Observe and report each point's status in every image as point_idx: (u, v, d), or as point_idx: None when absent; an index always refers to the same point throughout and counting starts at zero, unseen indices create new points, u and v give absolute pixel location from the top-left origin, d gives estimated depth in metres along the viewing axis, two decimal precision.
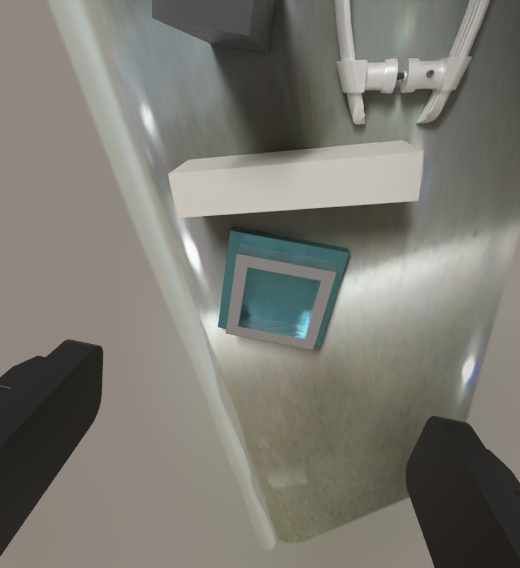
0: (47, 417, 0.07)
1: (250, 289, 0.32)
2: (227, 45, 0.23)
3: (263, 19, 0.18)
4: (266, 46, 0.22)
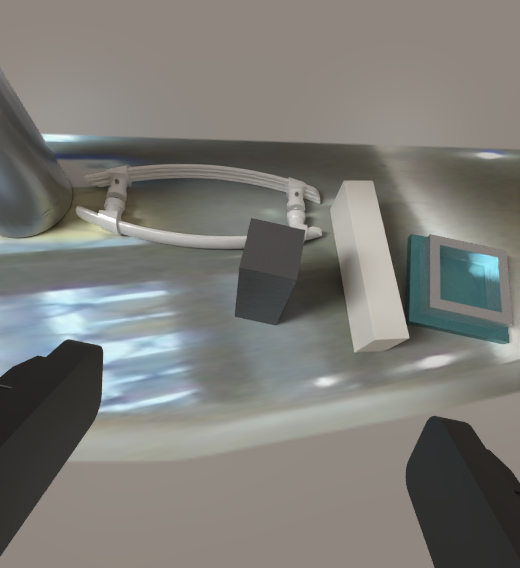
0: (48, 416, 0.07)
1: None
2: None
3: None
4: None
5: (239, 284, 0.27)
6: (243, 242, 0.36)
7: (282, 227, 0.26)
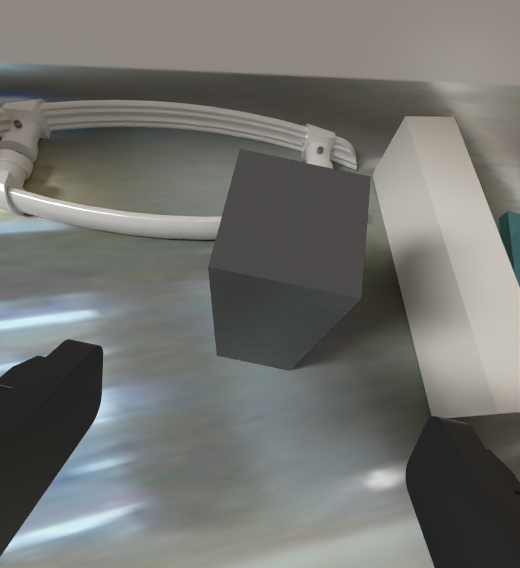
0: (48, 416, 0.07)
1: None
2: None
3: None
4: None
5: (215, 306, 0.12)
6: None
7: (315, 170, 0.11)
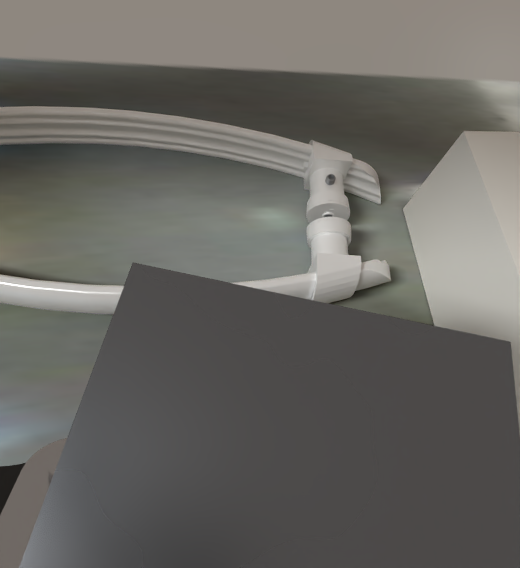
0: None
1: None
2: None
3: None
4: None
5: None
6: None
7: (351, 327, 0.04)
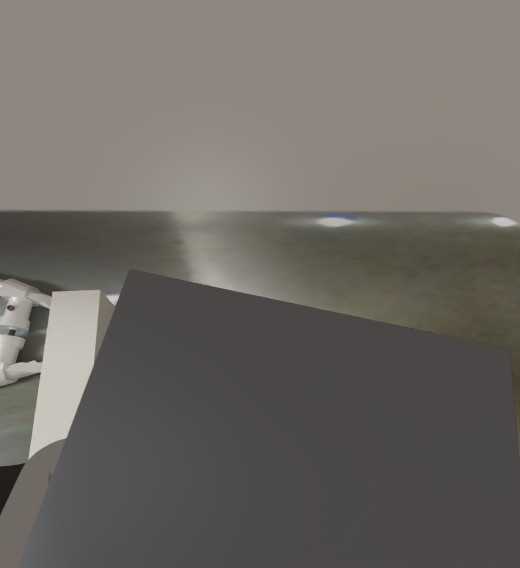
0: None
1: None
2: None
3: None
4: None
5: None
6: None
7: (349, 334, 0.04)
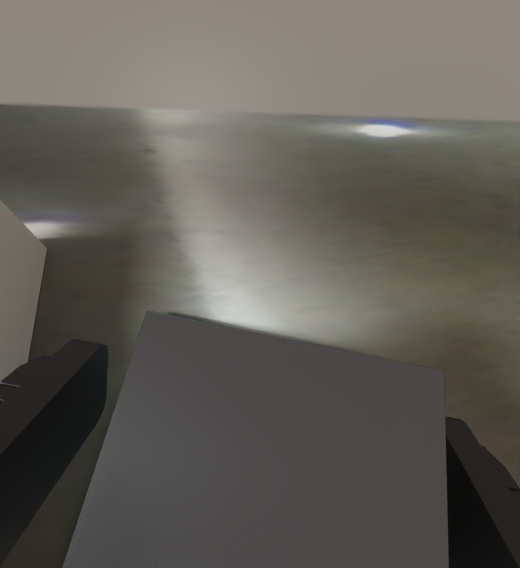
0: (54, 415, 0.07)
1: None
2: None
3: None
4: None
5: None
6: None
7: (318, 360, 0.05)
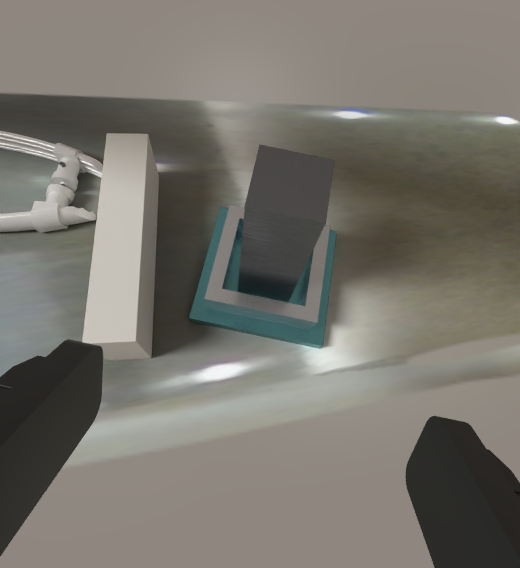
0: (48, 416, 0.07)
1: None
2: None
3: None
4: None
5: (244, 237, 0.20)
6: None
7: (302, 156, 0.19)
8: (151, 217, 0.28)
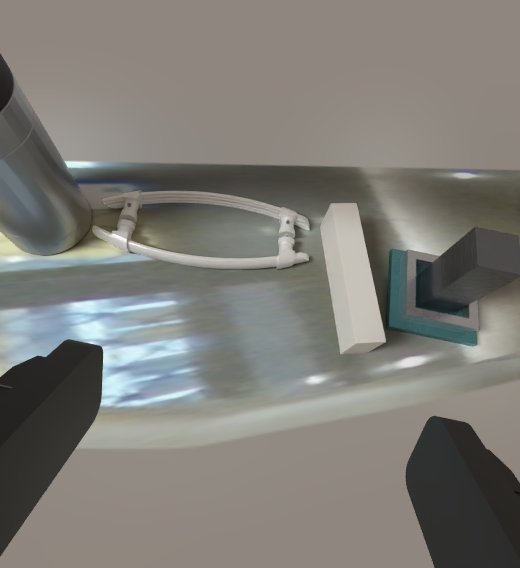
0: (47, 416, 0.07)
1: None
2: None
3: None
4: None
5: (458, 279, 0.34)
6: (237, 264, 0.40)
7: (500, 233, 0.32)
8: None
